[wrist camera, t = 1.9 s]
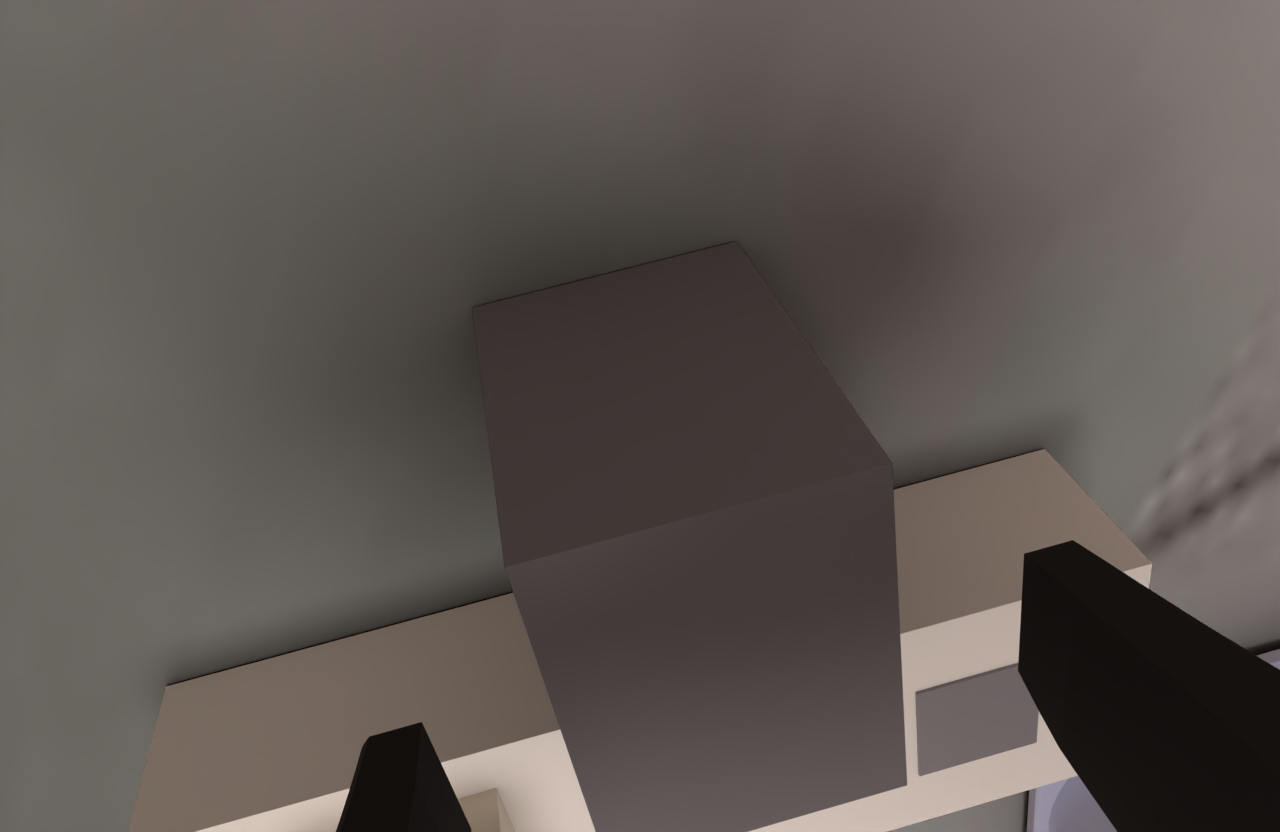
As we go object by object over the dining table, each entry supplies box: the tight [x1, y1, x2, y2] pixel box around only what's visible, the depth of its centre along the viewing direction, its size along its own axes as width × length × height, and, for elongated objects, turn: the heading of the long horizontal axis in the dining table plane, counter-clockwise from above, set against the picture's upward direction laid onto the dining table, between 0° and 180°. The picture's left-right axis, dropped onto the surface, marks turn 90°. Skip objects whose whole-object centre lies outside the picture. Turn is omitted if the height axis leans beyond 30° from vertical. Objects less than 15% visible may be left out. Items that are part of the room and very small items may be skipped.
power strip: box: [128, 449, 1152, 832], centre depth 20 cm, size 18×6×4 cm, turn 100°
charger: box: [472, 241, 907, 832], centre depth 16 cm, size 4×9×6 cm, turn 10°
